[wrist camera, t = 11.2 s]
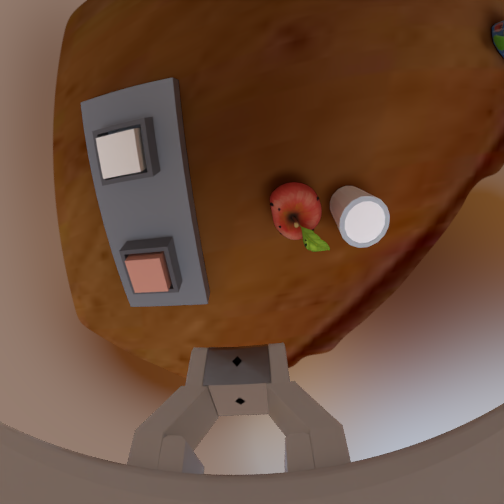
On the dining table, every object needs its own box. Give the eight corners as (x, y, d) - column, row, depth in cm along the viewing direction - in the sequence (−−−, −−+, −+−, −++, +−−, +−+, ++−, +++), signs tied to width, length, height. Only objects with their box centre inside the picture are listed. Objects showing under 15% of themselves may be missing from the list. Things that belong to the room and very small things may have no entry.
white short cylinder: (363, 229, 41) (381, 250, 35) (321, 223, 41) (334, 245, 34) (374, 185, 38) (396, 200, 32) (330, 177, 37) (346, 191, 31)
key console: (91, 102, 31) (68, 103, 26) (178, 79, 31) (165, 74, 26) (136, 295, 46) (125, 318, 41) (209, 292, 46) (205, 316, 40)
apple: (257, 213, 40) (260, 245, 31) (276, 167, 37) (286, 187, 28) (307, 231, 41) (323, 266, 32) (327, 188, 38) (351, 214, 29)
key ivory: (106, 135, 30) (95, 138, 27) (142, 126, 30) (133, 128, 27) (113, 173, 32) (103, 179, 30) (148, 166, 32) (140, 171, 30)
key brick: (132, 250, 38) (124, 261, 35) (165, 247, 37) (159, 258, 35) (141, 280, 40) (135, 292, 37) (173, 279, 40) (168, 291, 37)
